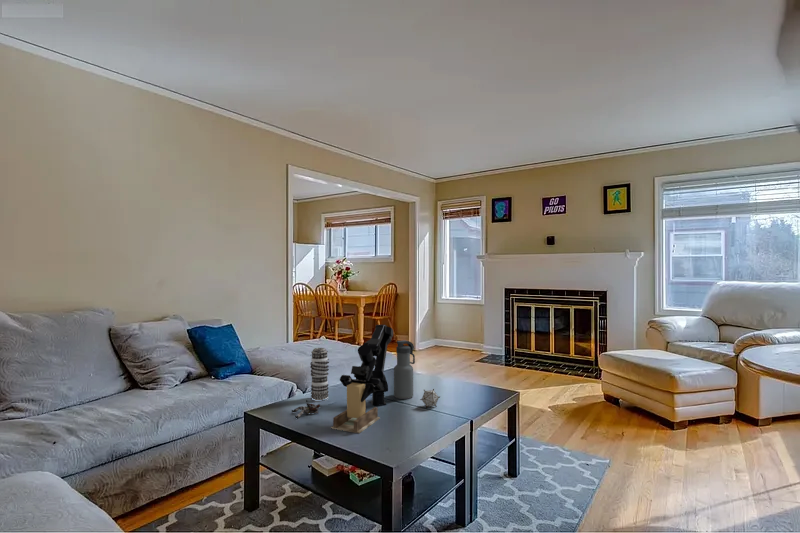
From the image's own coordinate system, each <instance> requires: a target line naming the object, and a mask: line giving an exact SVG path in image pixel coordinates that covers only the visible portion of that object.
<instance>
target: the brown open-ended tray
mask: <svg viewBox="0 0 800 533" xmlns="http://www.w3.org/2000/svg"><path fill="white" fill-rule="evenodd" d="M378 411H379V410H378V407H377V406H375V407H372V408H371V409H369V410H368V411H367V412H366V413H365V414H363V415H362V416H360V417H359V418H351V417H347V409H345V410H343V411H342V412H340V413H338V414H337V415H335V416H334V417H333V418H332V425H333V426H331V427H330V429H331V428H332V430H336V429H337V431H342V430H343V431H342V432H349V433H355V434H361V433H362V432H364V431H365V430H366V429H368V428H369V427H370V426H372V425H373V424H374V423H376V422H377V421H379V420H380V416H379V415H378V413H379V412H378Z"/></svg>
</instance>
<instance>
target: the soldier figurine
mask: <svg viewBox="0 0 800 533" xmlns="http://www.w3.org/2000/svg"><path fill="white" fill-rule="evenodd" d="M305 403H306V406H305V405H303V406H298V407H296V408H294V409H291V413H292V412H296V413H297V412H298V411H299V410H301V411H300V412H299V413H298V414H297V415H294V418H295V419H296V418H297V419H298V417H299V418H300V417H302V415H304V414H308V415H310V414H309V413H318V414H319V409H320V407H321V404H320V403H319V404H317V405H316V404H314V403H309V402H308V400H307V399H306V401H305Z"/></svg>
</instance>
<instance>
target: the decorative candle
mask: <svg viewBox="0 0 800 533" xmlns="http://www.w3.org/2000/svg"><path fill="white" fill-rule="evenodd" d="M329 360H330V359H329V358H328V350H327V349H326V348H325V347H316V348H313V349H312V350H311V362H310V366H309V367H310V376H311V385H310V387H311V388H310V390H311V392H310V398H313V399H315V400H323V399H327V398H328V399H329V396H330V394H329V384H328V383H329V381H328V375H329V372H328V371H329V365H328V364H329V363H330V361H329ZM328 399H327V400H328Z"/></svg>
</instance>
